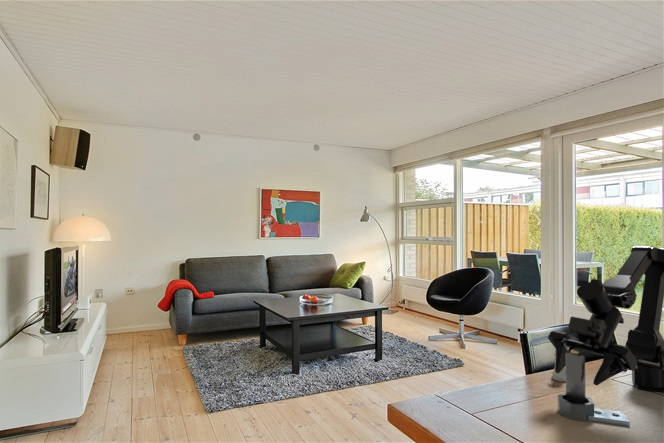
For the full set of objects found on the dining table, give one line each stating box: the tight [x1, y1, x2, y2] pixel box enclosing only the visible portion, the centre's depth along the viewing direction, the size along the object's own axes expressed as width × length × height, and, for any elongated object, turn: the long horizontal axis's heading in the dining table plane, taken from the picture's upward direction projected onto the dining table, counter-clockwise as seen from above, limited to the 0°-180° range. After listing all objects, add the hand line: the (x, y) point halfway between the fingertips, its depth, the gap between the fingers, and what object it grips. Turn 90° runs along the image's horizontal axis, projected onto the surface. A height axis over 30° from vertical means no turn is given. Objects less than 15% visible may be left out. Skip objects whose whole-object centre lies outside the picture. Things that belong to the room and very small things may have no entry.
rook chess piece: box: [551, 350, 566, 383], centre depth 123 cm, size 4×4×8 cm
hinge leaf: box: [557, 392, 630, 427], centre depth 98 cm, size 14×7×4 cm, turn 68°
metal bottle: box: [565, 349, 587, 404], centre depth 99 cm, size 4×4×14 cm
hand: (574, 378), depth 99 cm, fingers open, 9 cm apart
